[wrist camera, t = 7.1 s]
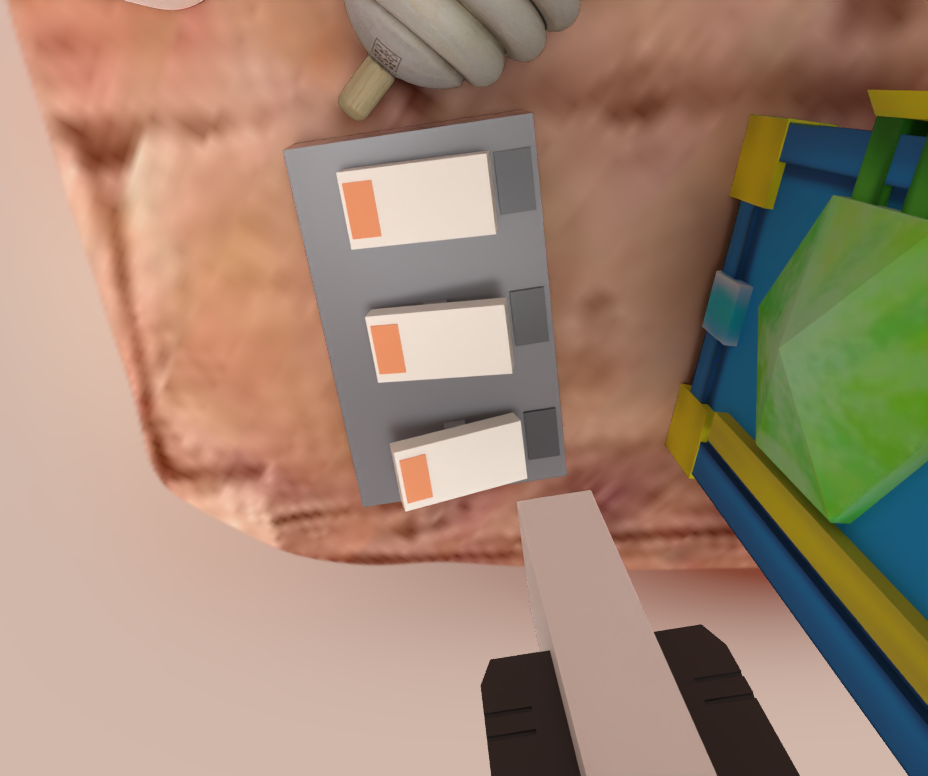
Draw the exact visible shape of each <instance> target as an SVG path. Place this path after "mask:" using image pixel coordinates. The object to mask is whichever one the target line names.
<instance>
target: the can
mask: <svg viewBox="0 0 928 776" xmlns="http://www.w3.org/2000/svg"><path fill="white" fill-rule="evenodd" d="M124 1H128V2H132V3H136V4H139V5H143V6H147V7H152V8H157V9H163V10H180V9H185V8H188V7H191V6H194V5H196V4H198V3H200V2H201V1H203V0H124Z"/></svg>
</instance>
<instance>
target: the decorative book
mask: <svg viewBox="0 0 928 776" xmlns="http://www.w3.org/2000/svg"><path fill="white" fill-rule="evenodd" d="M867 91H868V94H869V97H870V100H871V104H872V107H873V110H874V113H875V116H877V118H876V121H875V124H874V128H873V131H868V130H859V129H850V128H841V127H838V126H839V125H833V124H826V123H819V122H812V121H804V120H797V119H790V118H781V117H771V116H761V115H751V114H750V118H749V122H748V126H747V130H746V134H745V138H744V142H743V145H742V149H741V153H740V157H739V161H738V165H737V169H736V172H735V176H734V180H733V184H732V188H731V192H730V196H731V197H734V198H737V199H739V200H741V202H740V205H739V209H738V213H737V217H736V221H735V224H734V228H733V232H732V236H731V239H730V243H729V247H728V251H727V255H726V258H725V262H724V266H723V270H722V271H716V275H715V279H714V283H713V286H712V290H711V294H710V298H709V302H708V305H707V309H706V313H705V317H704V321H703V324H702V327H703V328H704V329H705V330H706V334H705V338H704V341H703V345H702V349H701V353H700V356H699V360H698V364H697V368H696V372H695V375H694V379H693V383H692V386H691V385H687V384H683V383H681V385H680V389H679V393H678V397H677V401H676V405H675V409H674V412H673V416H672V420H671V424H670V428H669V432H668V436H667V439H666V443H665V445H666V447H667V448H668V449H669V451H670V452H671V454H672V455H673V457H674V458H675V459H676V461H677V462H678V464H679V465H680V467H681V468H682V469H683V471H684V472H685V474H686V475H687V477H688V478H690V479H696V480H697V482H698V483H699V484H700V486H701V487H702V489H703V490H704V491H705V493H706V494H707V496H708V497H709V498H710V500H711V501H712V503H713V504H714V505H715V507H716V508H717V510H718V511H719V512H720V514H721V515H722V517H723V518H724V519H725V521H726V522H727V524H728V525H729V526H730V528H731V529H732V530H733V532H734V533H735V535H736V536H737V537H738V539H739V540H740V542H741V543H742V544H743V546H744V547H745V549H746V550H747V551H748V553H749V554H750V556H751V557H752V558H753V560H754V561H755V563H756V564H757V565H758V567H759V568H760V569H761V571H762V572H763V574H764V575H765V576H766V578H767V579H768V580H769V582H770V583H771V585H772V586H773V588H774V589H775V590H776V592H777V593H778V594H779V596H780V597H781V599H782V600H783V602H784V603H785V604H786V606H787V607H788V608H789V610H790V611H791V613H792V614H793V615H794V617H795V618H796V620H797V621H798V622H799V624H800V625H801V627H802V628H803V629H804V631H805V632H806V634H807V635H808V636H809V638H810V639H811V640H812V642H813V643H814V645H815V646H816V647H817V649H818V650H819V652H820V653H821V654H822V656H823V657H824V659H825V660H826V661H827V663H828V664H829V666H830V667H831V668H832V670H833V671H834V673H835V674H836V675H837V677H838V678H839V679H840V681H841V682H842V684H843V685H844V686H845V688H846V689H847V691H848V692H849V693H850V695H851V696H852V698H853V699H854V700H855V702H856V703H857V705H858V706H859V707H860V709H861V710H862V712H863V713H864V714H865V716H866V717H867V718H868V720H869V721H870V723H871V724H872V725H873V727H874V728H875V730H876V731H877V733H878V734H879V735H880V737H881V738H882V739H883V741H884V742H885V744H886V745H887V746H888V748H889V749H890V751H891V752H892V753H893V755H894V756H895V758H896V759H897V760H898V762H899V763H900V765H901V766H902V767H903V769H904V770H905V771H906V773H907V774H908V776H928V91H910V90H867Z"/></svg>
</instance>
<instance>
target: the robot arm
mask: <svg viewBox="0 0 928 776" xmlns="http://www.w3.org/2000/svg"><path fill="white" fill-rule="evenodd" d="M517 508H518V516H519V524H520V532H521V540H522V548H523V556H524V564H525V571H526V578H527V587H528V594H529V603H530V610H531V615H532V619H533V623H534V628H535V632H536V636H537V641H538V645H539V649H540V652H536V653H529V654H523V655H517V656H510V657H504V658H498V659H491V660H490V662H489V665H488V667H487V670H486V673H485V676H484V678H483V681H482V684H481V692H482V701H483V709H484V717H485V726H486V735H487V742H488V752H489V760H490V769H491V776H800V775H799V773H798V772H797V770H796V768H795V766H794V765H793V763H792V761H791V759H790V757H789V756H788V754H787V752H786V750H785V748H784V747H783V745H782V743H781V741H780V740H779V738H778V736H777V734H776V732H775V731H774V729H773V727H772V725H771V724H770V722H769V720H768V718H767V716H766V715H765V713H764V711H763V709H762V708H761V706H760V704H759V702H758V700H757V699H756V698H754V695H753V691H752V690H751V688H750V686H749V684H748V682H747V681H746V679H745V677H744V676H742V674H741V670H740V669H739V666H738V665H737V663H736V661H735V659H734V658H733V656H732V654H731V652H730V650H729V649H728V647H727V645H726V644H725V643H723V642H722V641H721V640H720V639H719V638H717V637H716V636H715V635H714V634H712V633H711V632H710V631H709V630H707V629H706V628H705V627H704V626H703V625H695V626H689V627H682V628H676V629H669V630H663V631H657V632H653V630H652V628H651V625H650V623H649V621H648V619H647V616H646V614H645V612H644V609H643V607H642V605H641V603H640V600H639V598H638V596H637V594H636V591H635V589H634V587H633V585H632V582H631V580H630V578H629V575H628V573H627V571H626V569H625V566H624V564H623V562H622V560H621V557H620V555H619V553H618V551H617V548H616V546H615V544H614V542H613V539H612V537H611V535H610V533H609V530H608V528H607V526H606V524H605V521H604V519H603V517H602V514H601V512H600V510H599V508H598V505H597V503H596V501H595V499H594V496H593V494H592V492H591V490H587V491H581V492H574V493H568V494H562V495H555V496H549V497H542V498H536V499H529V500H523V501H517Z"/></svg>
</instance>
